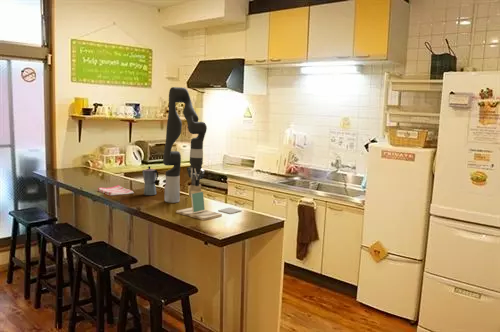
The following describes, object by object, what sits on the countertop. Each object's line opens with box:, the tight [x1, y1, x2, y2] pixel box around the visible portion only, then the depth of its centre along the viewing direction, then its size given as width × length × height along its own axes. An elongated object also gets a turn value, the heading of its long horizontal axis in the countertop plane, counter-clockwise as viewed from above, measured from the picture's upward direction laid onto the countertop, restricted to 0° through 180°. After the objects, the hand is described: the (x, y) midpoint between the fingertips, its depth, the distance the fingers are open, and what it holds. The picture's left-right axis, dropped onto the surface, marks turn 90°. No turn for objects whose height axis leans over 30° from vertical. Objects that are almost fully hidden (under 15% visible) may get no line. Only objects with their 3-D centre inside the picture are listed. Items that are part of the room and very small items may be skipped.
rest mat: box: [217, 207, 242, 215], centre depth 256 cm, size 10×10×1 cm
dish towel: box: [97, 184, 134, 197], centre depth 301 cm, size 17×23×4 cm
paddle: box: [188, 175, 202, 198], centre depth 246 cm, size 3×7×12 cm, turn 140°
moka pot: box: [142, 165, 159, 196], centre depth 295 cm, size 10×15×20 cm, turn 59°
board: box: [175, 206, 223, 221], centre depth 246 cm, size 24×14×1 cm, turn 50°
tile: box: [190, 191, 206, 213], centre depth 245 cm, size 11×9×1 cm
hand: (195, 185), depth 245 cm, fingers closed on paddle, 2 cm apart
